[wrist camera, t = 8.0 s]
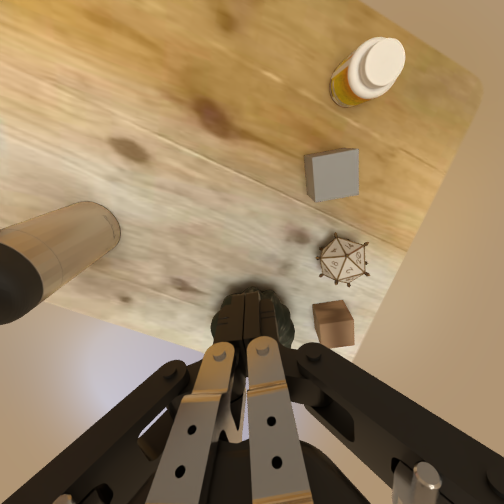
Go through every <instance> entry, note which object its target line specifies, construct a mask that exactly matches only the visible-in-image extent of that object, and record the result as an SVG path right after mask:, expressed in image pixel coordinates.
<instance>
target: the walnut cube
mask: <svg viewBox="0 0 504 504" xmlns="http://www.w3.org/2000/svg"><path fill="white" fill-rule="evenodd" d="M312 306H313V315H314V324H315V330H316V333H317V336H318V339H319V342H320V344H322V345H324V346H326V347H327V348H337V347H344V346H352V345H354V319H353V317H352V316H351V314H350V312H349V310H348V308H347V307H346V305H345V303H344V301H343V300H339V301H332V302H325V303H319V304H312Z"/></svg>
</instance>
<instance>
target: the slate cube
mask: <svg viewBox="0 0 504 504" xmlns="http://www.w3.org/2000/svg"><path fill="white" fill-rule="evenodd" d="M304 163H305V174H306V186H307V195H308V196H310V197H311V198H312V199H313V200H314V201H315V202H321V201H326V200H332V199H338V198H343V197H349V196H355V195H359V149H353V148H341V149H335V150H330V151H325V152H320V153H314V154H309V155H304Z"/></svg>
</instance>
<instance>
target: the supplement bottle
mask: <svg viewBox="0 0 504 504" xmlns="http://www.w3.org/2000/svg"><path fill="white" fill-rule="evenodd" d="M404 63H405V51H404V48H403V46H402V44H401V43H400V42H399V41H398V40H396V39H394V38H385V37H375V38H372V39H369V40H367V41H366V42H364V43H363V44H362V45H360V46H359V47H358V48H357V49H356V50H355V51H354V52H353V53H352V54H350V55H349V56H348V57H347V58H346V59H345V60H344V61H343V62H342V63H341V64H340V65H339V66H338V67H337V68H336V69H335V71H334V73H333V75H332V77H331V81H330V93H331V96H332V98H333V100H334V101H335V102H336V103H337V104H338V105H340V106H342V107H352V106H355V105H358V104H360V103H363V102H366V101H369V100H371V99H374V98H377V97H379V96H381V95H382V94H384V93H385V92H387V91H388V90H389V89H390V87H391V86H392V85H393V84H394V82H395V80H396V78H397V77H398V76H399V74H400V73H401V71H402V69H403V66H404Z"/></svg>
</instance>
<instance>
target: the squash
mask: <svg viewBox="0 0 504 504" xmlns="http://www.w3.org/2000/svg"><path fill="white" fill-rule="evenodd" d="M256 291H259V290H258V289H256V288H254V287H250V288H248V289H247V290H245V291H244V292H243V293H242V294H244V293H245V294H246V293H250V292H256ZM259 294H260V299H261V300H264V299H270V300H271V301H272V303H273V304H274V309H275V315H276V320H277V326H278V334H279V342H280V343H281V344H282V345H283V346H285V347H287V348H290V349H291V344H292V342H293V340H294V334H295V329H294V325H293V323H292V321H291V319H290V312H289V310H288V308H287V307H286V306H285V305H283V304H281V302H280V300H279V298H278V296H277V295H276V294H275V292H274V291H271V290H268V291H264V292H262V293H261V292H260V291H259ZM232 295H237V294H232ZM232 295H229V296H227V297H226V298H225V299H224V301H223V304H222V306H221V309H222V308H223V307H224V305H231V301H232ZM220 311H221V310H220ZM220 311H219V312H220ZM219 312H218V313H217V314H216V315H215V316H214V317H213V319H212V323H211V333H212V336H213V338H214V337H215V332H216V327H217V322H218V317H219Z"/></svg>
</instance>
